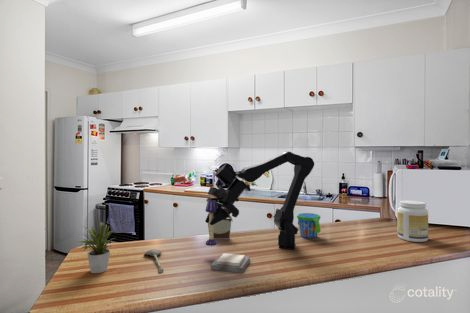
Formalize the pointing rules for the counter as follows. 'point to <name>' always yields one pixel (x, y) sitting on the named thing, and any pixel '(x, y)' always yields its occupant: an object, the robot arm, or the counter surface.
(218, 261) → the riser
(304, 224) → the snack cup
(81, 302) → the counter surface
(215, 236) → the food container
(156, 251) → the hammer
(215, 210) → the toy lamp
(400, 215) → the supplement tub
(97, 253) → the house plant
